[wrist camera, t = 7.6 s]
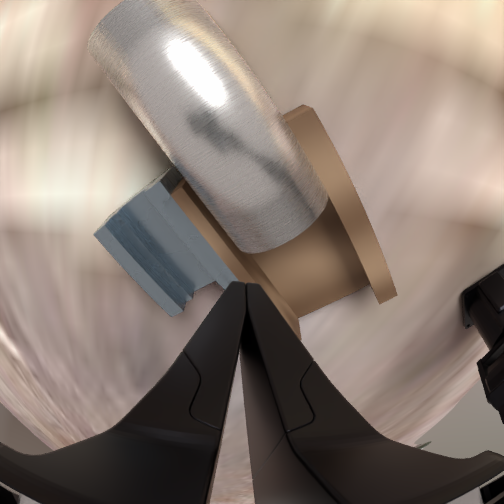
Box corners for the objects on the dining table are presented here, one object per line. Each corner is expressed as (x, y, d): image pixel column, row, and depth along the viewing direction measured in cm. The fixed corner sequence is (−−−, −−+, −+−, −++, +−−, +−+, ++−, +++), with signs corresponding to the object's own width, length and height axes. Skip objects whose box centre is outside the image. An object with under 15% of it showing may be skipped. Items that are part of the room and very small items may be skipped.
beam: (384, 270, 22) (397, 295, 19) (281, 320, 24) (284, 347, 22) (229, -1, 12) (224, -17, 9) (104, 90, 15) (79, 93, 12)
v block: (242, 257, 21) (241, 283, 19) (179, 290, 23) (171, 317, 20) (173, 165, 17) (159, 180, 15) (111, 214, 19) (93, 234, 17)
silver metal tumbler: (309, 176, 18) (345, 206, 13) (234, 224, 19) (240, 271, 14) (190, 5, 12) (179, -34, 7) (110, 61, 13) (68, 47, 8)
